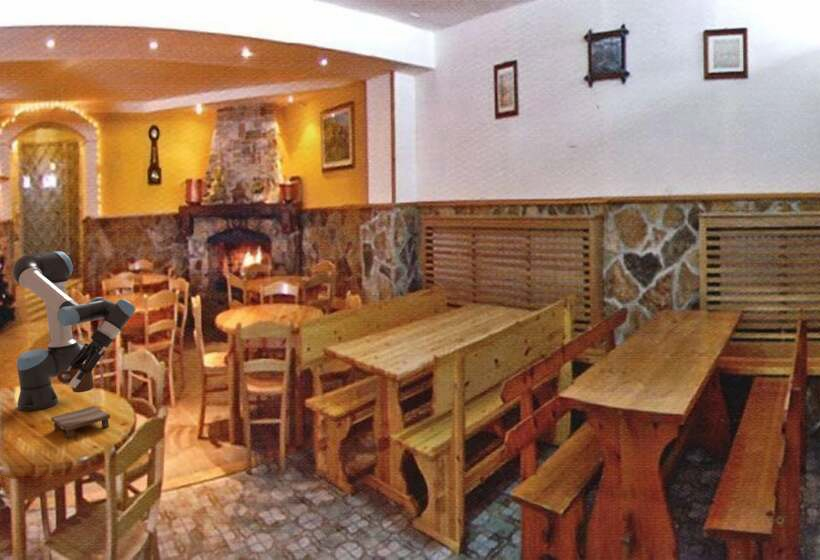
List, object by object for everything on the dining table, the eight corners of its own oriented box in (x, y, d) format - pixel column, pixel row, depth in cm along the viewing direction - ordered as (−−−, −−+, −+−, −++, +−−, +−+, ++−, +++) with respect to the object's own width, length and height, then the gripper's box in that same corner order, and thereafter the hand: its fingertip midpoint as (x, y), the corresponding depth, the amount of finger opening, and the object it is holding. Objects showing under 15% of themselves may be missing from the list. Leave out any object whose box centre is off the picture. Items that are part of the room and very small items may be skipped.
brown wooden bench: (52, 429, 251) (51, 417, 251) (94, 417, 263) (93, 405, 262) (67, 439, 242) (66, 427, 241) (111, 426, 253) (109, 414, 252)
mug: (61, 397, 245) (57, 373, 243) (58, 392, 251) (55, 368, 250) (95, 389, 252) (92, 366, 250) (92, 385, 258) (89, 362, 256)
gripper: (124, 343, 253) (86, 394, 244) (101, 336, 266) (64, 384, 257) (108, 333, 248) (69, 384, 239) (86, 326, 262) (48, 374, 252)
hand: (67, 384), depth 248 cm, fingers closed on mug, 8 cm apart
